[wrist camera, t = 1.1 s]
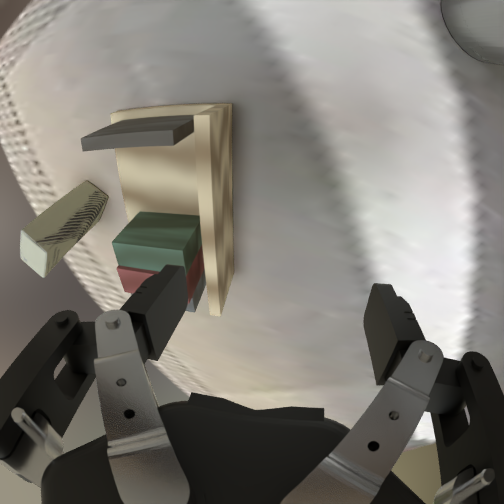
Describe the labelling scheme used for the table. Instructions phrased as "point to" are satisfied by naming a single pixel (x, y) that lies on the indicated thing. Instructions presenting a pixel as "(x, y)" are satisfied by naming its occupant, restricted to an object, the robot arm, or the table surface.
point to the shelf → (174, 195)
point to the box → (61, 227)
